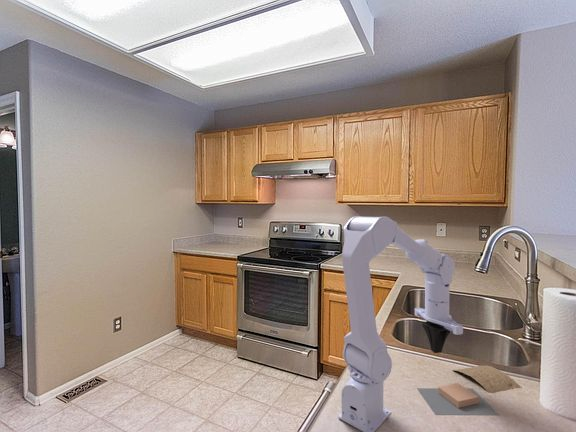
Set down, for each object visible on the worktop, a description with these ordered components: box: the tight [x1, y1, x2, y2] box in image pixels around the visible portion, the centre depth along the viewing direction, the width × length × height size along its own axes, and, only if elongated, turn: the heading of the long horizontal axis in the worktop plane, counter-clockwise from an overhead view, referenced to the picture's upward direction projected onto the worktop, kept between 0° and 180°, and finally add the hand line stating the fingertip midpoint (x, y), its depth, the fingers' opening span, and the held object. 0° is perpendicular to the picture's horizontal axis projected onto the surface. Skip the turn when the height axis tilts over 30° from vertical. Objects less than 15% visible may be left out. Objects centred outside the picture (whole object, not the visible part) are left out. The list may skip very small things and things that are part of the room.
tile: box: [437, 382, 479, 408], centre depth 73 cm, size 6×2×6 cm
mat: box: [416, 387, 500, 416], centre depth 72 cm, size 14×10×1 cm
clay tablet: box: [451, 365, 522, 394], centre depth 82 cm, size 14×10×3 cm
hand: (436, 351), depth 79 cm, fingers closed
